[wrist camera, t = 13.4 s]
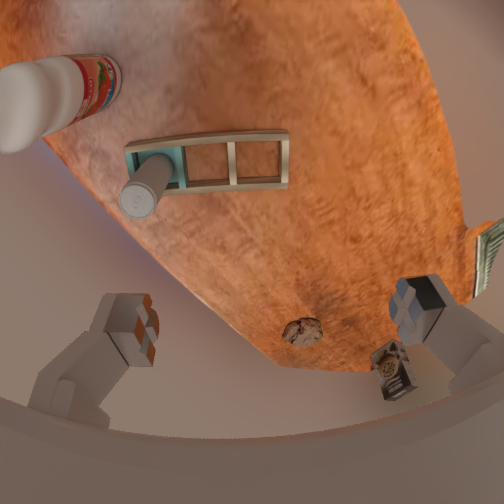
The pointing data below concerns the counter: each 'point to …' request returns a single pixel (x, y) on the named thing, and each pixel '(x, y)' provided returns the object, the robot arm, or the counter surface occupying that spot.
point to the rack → (176, 151)
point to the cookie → (303, 332)
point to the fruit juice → (52, 95)
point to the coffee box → (394, 371)
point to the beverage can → (146, 187)
